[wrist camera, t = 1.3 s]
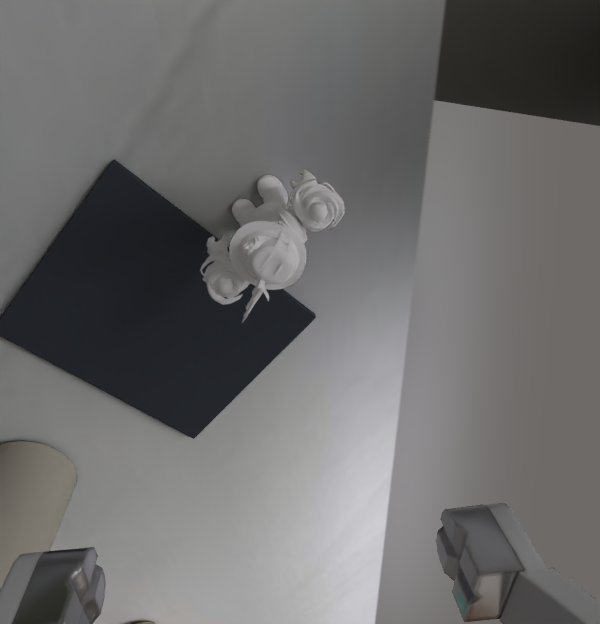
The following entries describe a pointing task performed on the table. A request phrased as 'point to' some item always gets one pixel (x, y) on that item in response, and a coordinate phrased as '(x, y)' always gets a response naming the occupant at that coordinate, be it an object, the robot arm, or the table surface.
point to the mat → (146, 308)
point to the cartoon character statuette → (270, 239)
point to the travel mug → (31, 498)
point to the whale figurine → (145, 623)
